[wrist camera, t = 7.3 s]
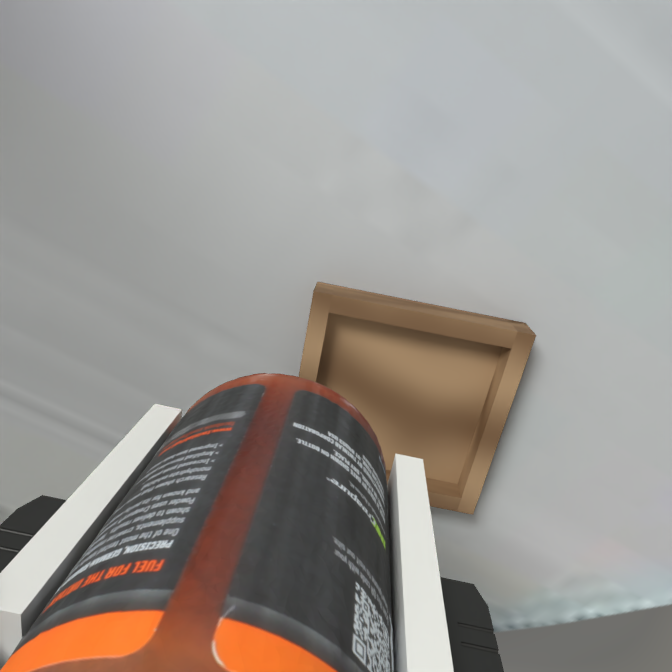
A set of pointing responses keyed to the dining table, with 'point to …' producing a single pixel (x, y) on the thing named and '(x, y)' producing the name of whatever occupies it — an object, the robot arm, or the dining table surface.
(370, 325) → the walnut tray
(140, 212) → the dining table surface
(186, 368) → the dining table surface
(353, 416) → the supplement bottle
